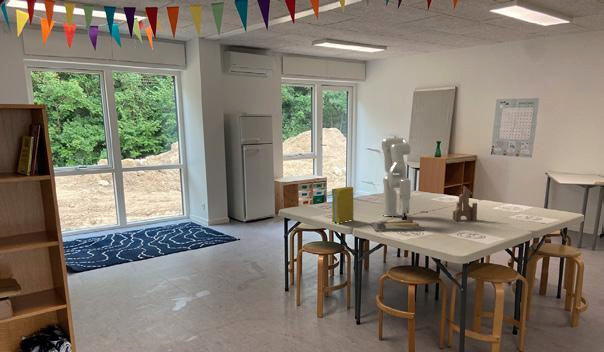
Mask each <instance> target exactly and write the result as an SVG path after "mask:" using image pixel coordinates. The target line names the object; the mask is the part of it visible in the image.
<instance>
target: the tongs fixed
mask: <svg viewBox="0 0 604 352" xmlns="http://www.w3.org/2000/svg"><path fill="white" fill-rule="evenodd" d="M419 226H420V223H419V222H416V223H400V224H384V225H378V224H377V229H381V230H383V229H419Z"/></svg>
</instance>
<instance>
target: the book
mask: <svg viewBox="0 0 604 352" xmlns="http://www.w3.org/2000/svg"><path fill="white" fill-rule="evenodd" d="M331 196H332V202H331V203H332V207H331V210H332V216H331V220H332V221H331V223H332V222H336V223H341V222H345V221H349V220H353V221H354V186H343V187H337V188H336V187H335V188H331ZM336 223H335V224H336Z"/></svg>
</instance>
